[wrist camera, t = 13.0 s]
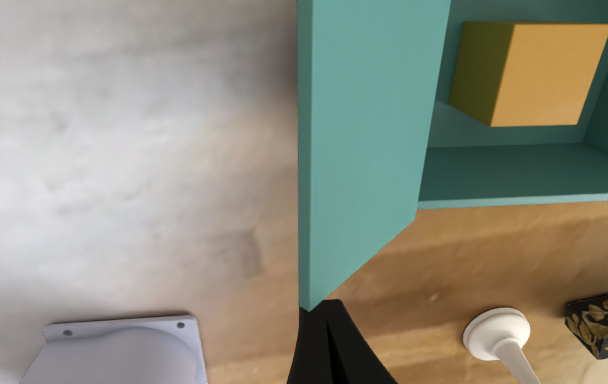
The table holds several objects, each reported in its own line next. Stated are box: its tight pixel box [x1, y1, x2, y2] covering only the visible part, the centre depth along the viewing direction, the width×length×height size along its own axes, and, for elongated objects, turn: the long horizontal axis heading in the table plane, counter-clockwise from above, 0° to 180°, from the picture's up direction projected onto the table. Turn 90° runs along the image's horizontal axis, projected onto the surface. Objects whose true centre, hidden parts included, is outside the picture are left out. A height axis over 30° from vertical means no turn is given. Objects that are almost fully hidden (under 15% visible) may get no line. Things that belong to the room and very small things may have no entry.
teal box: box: [416, 0, 608, 210], centre depth 16 cm, size 13×10×6 cm
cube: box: [449, 21, 608, 127], centre depth 16 cm, size 4×4×4 cm
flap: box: [297, 0, 451, 312], centre depth 9 cm, size 6×10×1 cm
